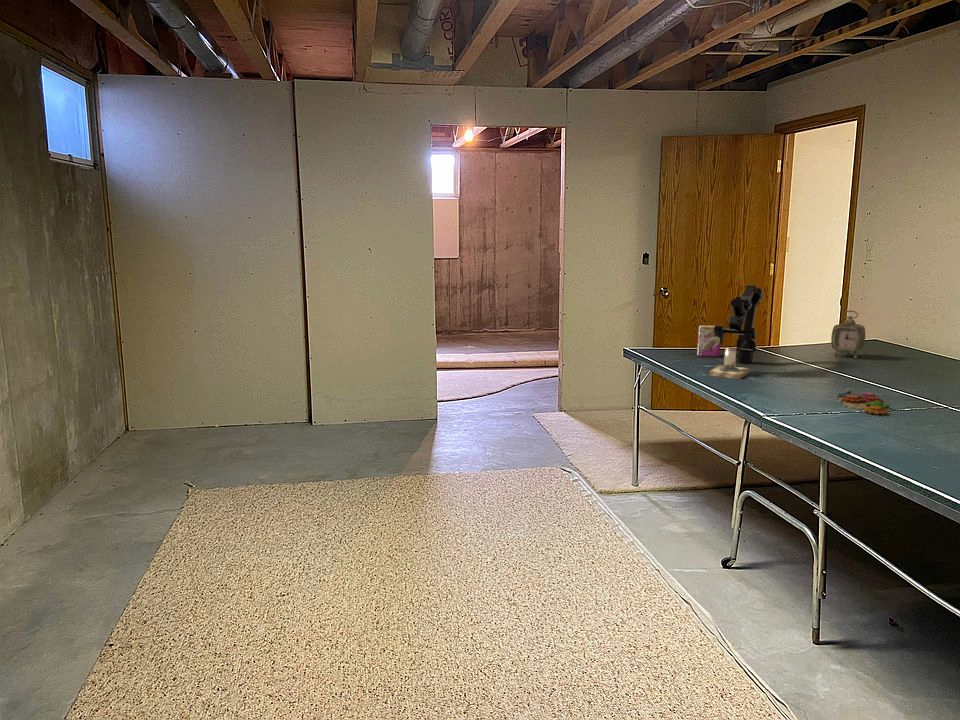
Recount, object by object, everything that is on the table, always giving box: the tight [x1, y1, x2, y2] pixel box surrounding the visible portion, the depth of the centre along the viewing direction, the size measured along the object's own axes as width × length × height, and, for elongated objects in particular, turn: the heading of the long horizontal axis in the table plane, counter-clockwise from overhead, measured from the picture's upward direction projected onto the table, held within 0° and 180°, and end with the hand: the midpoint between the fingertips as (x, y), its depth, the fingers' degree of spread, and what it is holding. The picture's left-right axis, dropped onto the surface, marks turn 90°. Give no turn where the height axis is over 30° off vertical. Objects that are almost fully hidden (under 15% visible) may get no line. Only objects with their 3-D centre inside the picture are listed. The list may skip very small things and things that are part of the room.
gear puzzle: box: [834, 388, 891, 415], centre depth 272 cm, size 31×16×4 cm, turn 165°
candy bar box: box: [696, 325, 721, 358], centre depth 377 cm, size 11×5×16 cm, turn 84°
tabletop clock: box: [830, 310, 866, 359], centre depth 372 cm, size 14×9×25 cm, turn 43°
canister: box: [723, 346, 737, 370], centre depth 330 cm, size 5×5×10 cm
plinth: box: [708, 365, 750, 380], centre depth 331 cm, size 14×18×2 cm
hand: (731, 346), depth 329 cm, fingers open, 9 cm apart
